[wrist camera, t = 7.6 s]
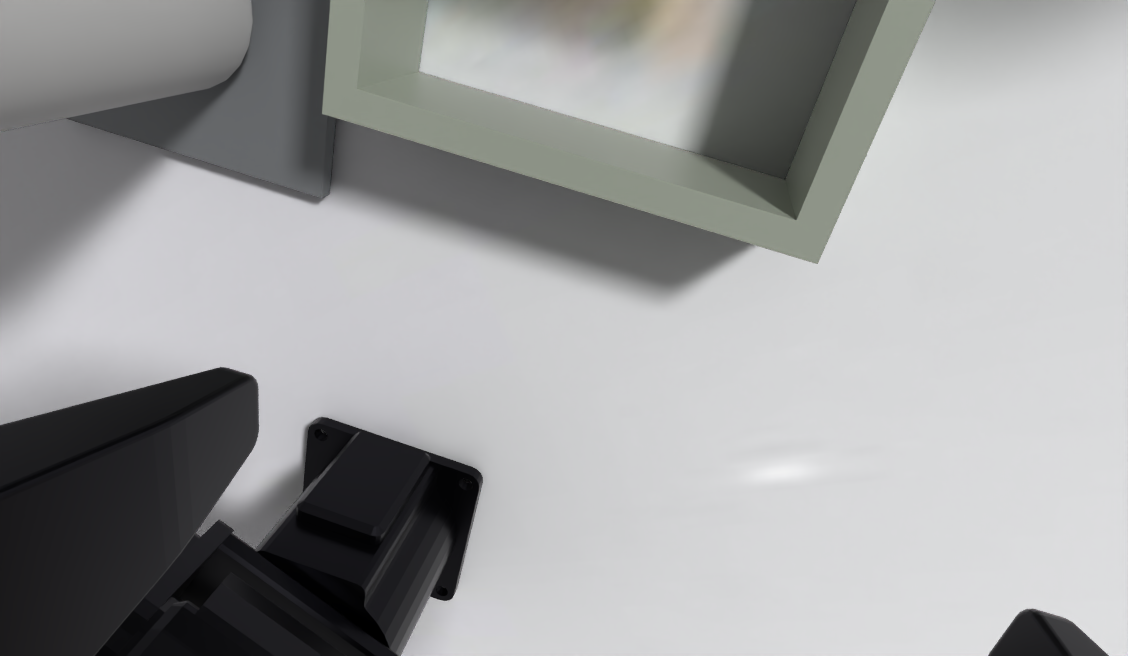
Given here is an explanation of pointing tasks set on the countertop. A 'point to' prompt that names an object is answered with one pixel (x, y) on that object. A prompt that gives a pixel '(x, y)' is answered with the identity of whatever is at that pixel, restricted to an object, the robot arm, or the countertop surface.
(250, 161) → the pad
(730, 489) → the countertop surface
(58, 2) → the beverage can
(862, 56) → the case
